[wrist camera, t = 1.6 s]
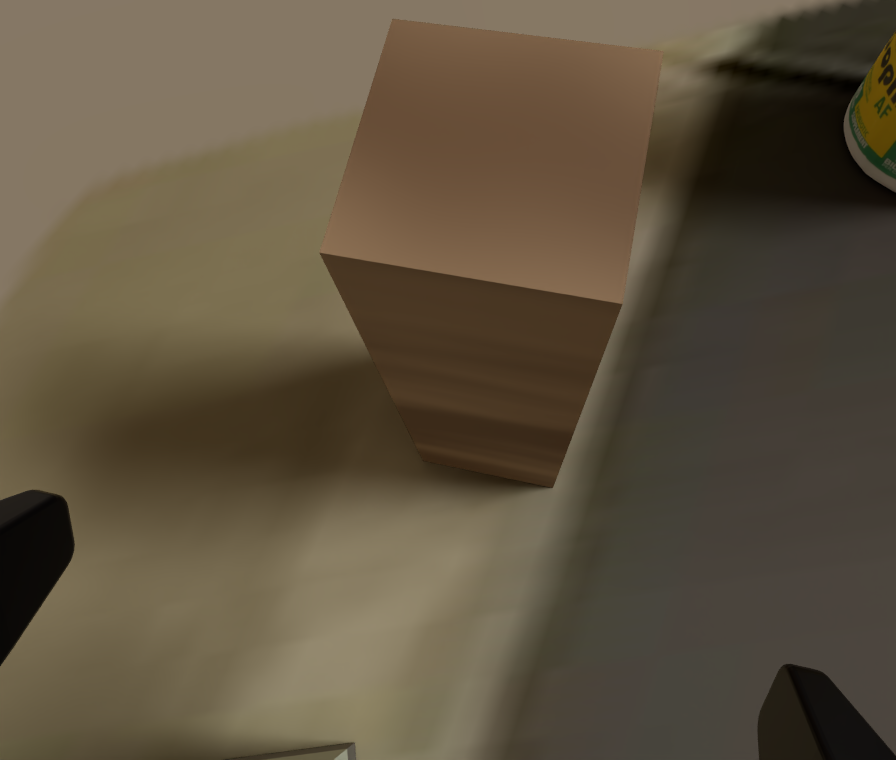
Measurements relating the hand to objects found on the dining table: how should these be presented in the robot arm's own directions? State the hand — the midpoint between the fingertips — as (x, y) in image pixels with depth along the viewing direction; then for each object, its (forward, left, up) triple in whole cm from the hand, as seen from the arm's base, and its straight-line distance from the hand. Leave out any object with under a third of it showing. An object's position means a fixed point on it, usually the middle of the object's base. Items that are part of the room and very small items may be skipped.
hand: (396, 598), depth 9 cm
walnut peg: (+6, -1, -12) cm, 14 cm away
